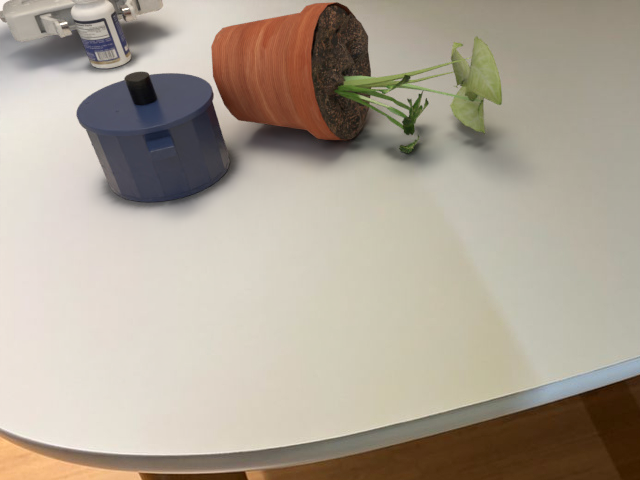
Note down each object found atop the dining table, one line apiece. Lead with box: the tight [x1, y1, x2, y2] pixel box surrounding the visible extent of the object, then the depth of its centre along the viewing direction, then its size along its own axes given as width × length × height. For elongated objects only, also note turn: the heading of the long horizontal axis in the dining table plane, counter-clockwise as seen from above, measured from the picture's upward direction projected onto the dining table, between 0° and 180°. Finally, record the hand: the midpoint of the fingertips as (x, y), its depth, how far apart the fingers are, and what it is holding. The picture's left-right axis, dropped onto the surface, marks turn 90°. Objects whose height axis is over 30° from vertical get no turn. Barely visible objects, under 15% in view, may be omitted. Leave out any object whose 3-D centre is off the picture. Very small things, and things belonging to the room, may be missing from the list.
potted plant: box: [210, 1, 503, 154], centre depth 86 cm, size 16×15×35 cm
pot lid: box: [75, 71, 214, 136], centre depth 81 cm, size 13×13×4 cm
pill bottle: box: [71, 0, 132, 69], centre depth 107 cm, size 5×5×10 cm
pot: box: [85, 100, 230, 203], centre depth 85 cm, size 13×18×8 cm
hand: (97, 22), depth 106 cm, fingers open, 7 cm apart
